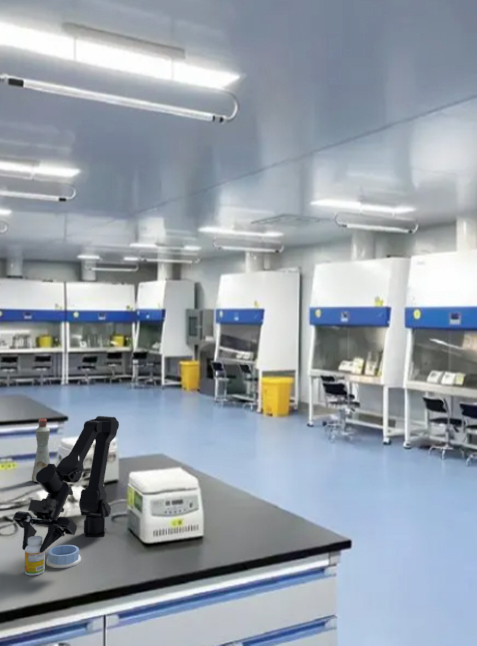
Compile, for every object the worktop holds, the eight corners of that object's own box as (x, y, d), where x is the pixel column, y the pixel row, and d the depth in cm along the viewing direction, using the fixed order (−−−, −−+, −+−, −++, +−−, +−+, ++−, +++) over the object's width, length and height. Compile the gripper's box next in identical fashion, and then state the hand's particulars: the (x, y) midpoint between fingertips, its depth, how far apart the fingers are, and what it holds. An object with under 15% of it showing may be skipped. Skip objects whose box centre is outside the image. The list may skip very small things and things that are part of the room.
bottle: (27, 483, 266) (28, 418, 266) (37, 477, 275) (38, 415, 275) (46, 484, 265) (46, 419, 264) (55, 478, 273) (56, 416, 273)
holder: (82, 554, 188) (83, 543, 188) (78, 567, 178) (78, 556, 178) (49, 555, 187) (49, 544, 187) (43, 568, 177) (43, 557, 177)
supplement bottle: (27, 568, 177) (27, 534, 177) (46, 567, 178) (46, 534, 177) (22, 576, 172) (22, 541, 172) (42, 575, 172) (42, 541, 172)
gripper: (16, 483, 181) (-10, 533, 171) (71, 490, 175) (48, 541, 165) (33, 502, 189) (9, 551, 178) (86, 509, 183) (64, 560, 173)
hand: (31, 550), depth 173 cm, fingers closed on supplement bottle, 5 cm apart
